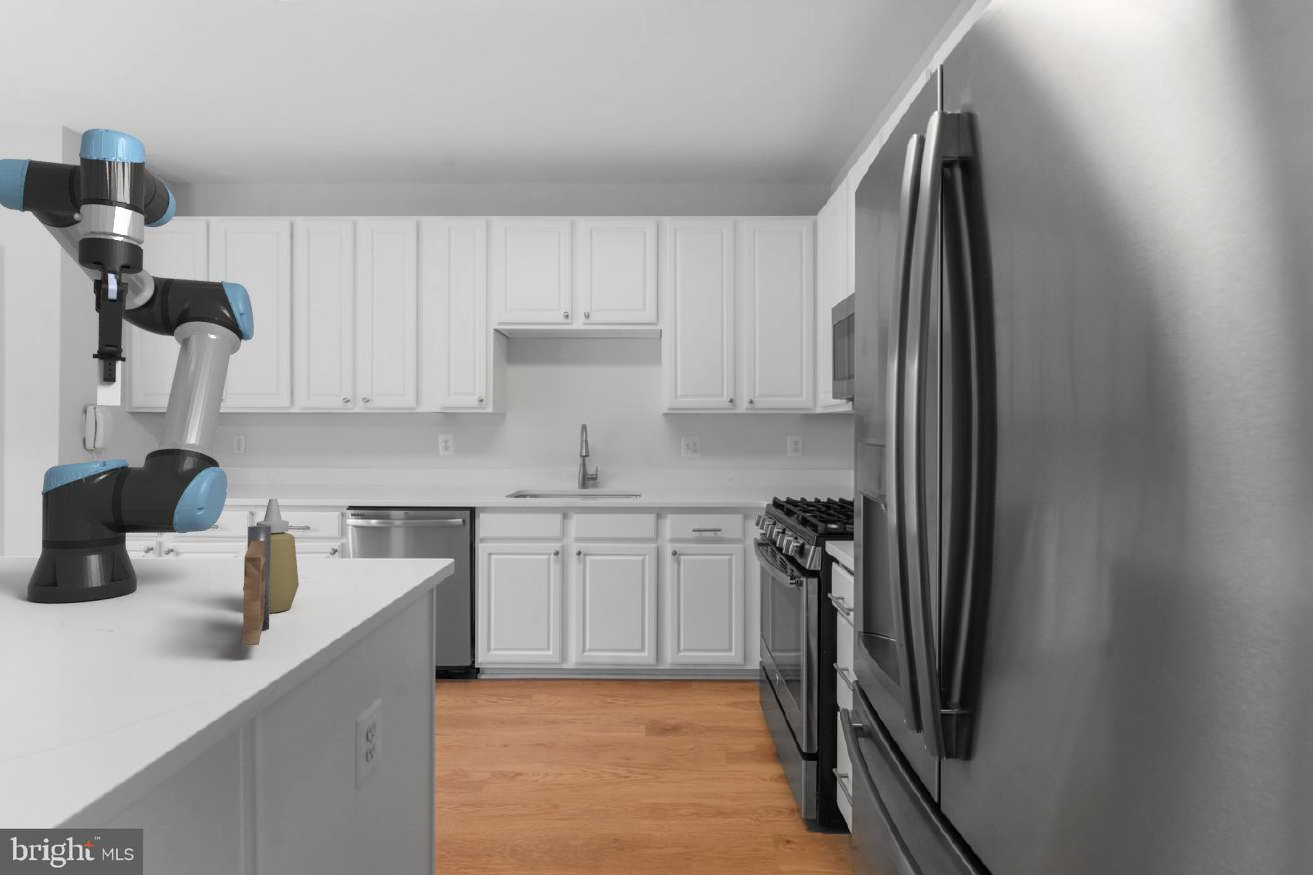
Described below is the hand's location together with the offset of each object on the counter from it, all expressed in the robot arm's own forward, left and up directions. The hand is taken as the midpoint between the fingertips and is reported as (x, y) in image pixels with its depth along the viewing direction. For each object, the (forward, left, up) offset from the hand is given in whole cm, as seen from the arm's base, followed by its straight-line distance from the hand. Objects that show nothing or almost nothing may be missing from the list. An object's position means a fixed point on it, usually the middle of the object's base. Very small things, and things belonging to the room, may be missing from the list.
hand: (108, 405), depth 107 cm
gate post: (+12, +18, -32) cm, 39 cm away
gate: (+21, +16, -30) cm, 40 cm away
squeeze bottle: (0, +22, -33) cm, 39 cm away
